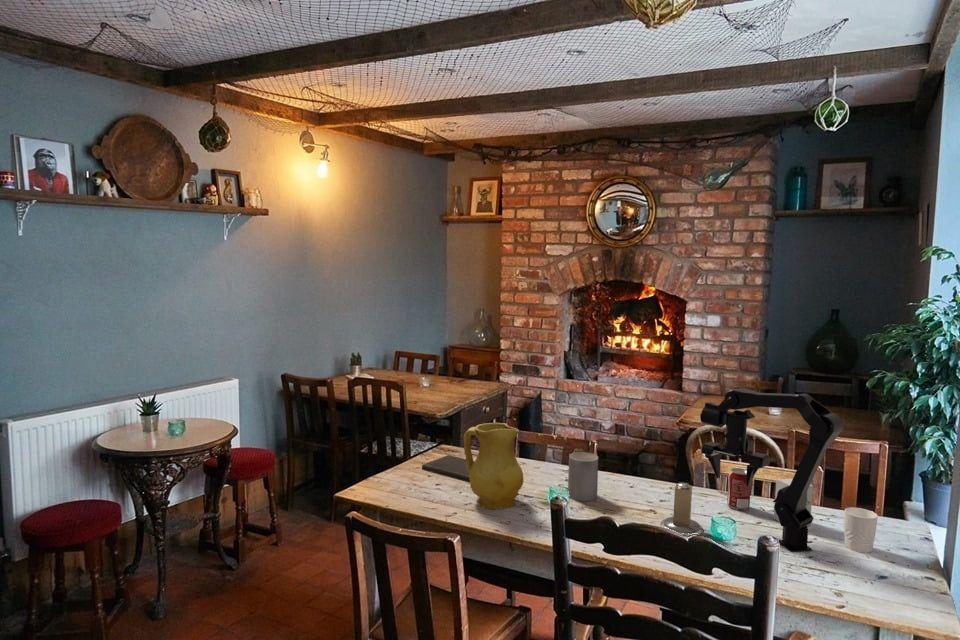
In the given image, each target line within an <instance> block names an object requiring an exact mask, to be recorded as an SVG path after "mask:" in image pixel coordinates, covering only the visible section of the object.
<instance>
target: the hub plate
mask: <svg viewBox="0 0 960 640" xmlns="http://www.w3.org/2000/svg"><path fill="white" fill-rule="evenodd" d="M660 524H661V525H660ZM660 524H659V525H660V527H661V526H662V525H663V527H665V528H668V529H671V530H674V531H676V532H678V533H680V534H682V533H684V534H682V535H685V537H687V536H686V535H688V533H689V534H692V533H698V534H700V535H702V534H703V532H704V528H703V526H702V525H701V524H700V523H699V522H697V521H696V520H693V519H690V526H689V528H688V527H682V526H676V525H673V516H671V517H667V518H665V519H662V520H661V521H660ZM698 534H692V535H696V536H699V535H698ZM682 535H681V536H682Z"/></svg>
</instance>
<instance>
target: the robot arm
mask: <svg viewBox="0 0 960 640" xmlns="http://www.w3.org/2000/svg"><path fill="white" fill-rule="evenodd" d="M756 407H758V408H779V409H795V410H796V411H798V413H799V414H800V415H801V417H802V418H803V420H804V421H805V423H806V424H807V425H809V431H808V444H807V447H806V449H805V451H804V453H803V455H802V457H801V460H800V462H799V464H798V467H797V469H796V471H795V473H794V475H793V477H792V479H793V480H792V482H791V484H790V486H786V487H784V488H782V489H780V490H779V491H778V493H777V497H776V499H775V498H774V499H773V501H772V503H774V504H773V511H774V510H775V512H776V514H777V515H778V518H779V521H780V522H779V521H778V522H779V524H780V525H779V526H781V527H782V537H781V538H782V539H778V540H779V542H780V543H779V545H781V546H783V547H784V548H785V549H787V550H788V551H790V552H811V551H813V548H811V547H810V546H809V545H808V538H809V528H808V526H807V525H809V524H810V525H812V522H813V521H814V519H815V518H814V516H813V515H812V513H811V514H810V512H809V511H808V510H807V508H806V503H807V490H808V488H809V486H810V485H812V482H813V479H814V477H815V475H816V472H817V470H818V468H819V467H820V463H821V462H822V460H823V458H824V456H825V453H826V451H827V449H828V448H829V446H831V444H832V443H833V442H834V441H835V440H836V439H838V437H839V435H840V434H841V432H842V431H843V429H844V427H845V426H844V425H845V423H844V421H843V419H842V418H841V417H840V415H838V414H837V413H833V412H832V411H831V410H830V409H828V407H826V406H825V405H822V404H821V403H820V402H818V401H817V400H815V399H814V398H813V397H812V396H811V395H810V394H808V393H799V394H798V393H797V394H796V393H774V392H773V393H770V392H768V393H767V392H759V391H757V390H753V389H749V388H744V387H741V388H736V389H731V390H728V391H727V392H726V393H725V395H724V399H723V400H722V401H721V402H720V403H719V404H717V403H714V402H712V401H711V402H709V401H708V402H707V401H706V402H705V403H704V407H703V408H702V410H701V413H700V417H699V418H700V422H701V423H702V424H703V425H707V426H712V427H716V428H719V429H720V428H723V427H724V426H725V433H724V434H723V438H724V447H723V445H722V444H721V443H719V442H714V441H708V442H705V443H703V444H702V445H701V446H700V453H701V454H704V457H705V458H707V460H708V462H709V463H710V466H711V467H712V469H713V473H714V476H715V477H716V479H720V476H721V459H722V456H723V455H724V456H729V457H732V458H736V459H741V460H745V461H747V463H748V465H746V470H747V475H746V485H747V487H749V486H750V484H751V485H752V482H753V479H754V477H755V475H756V473H757V472H758V470H759V469H762V468H764V467H767V466H769V465H771V458H770V456H769V455H768V454H766V453H762V452H758V451H757V452H754V453H753V451H754V447H755V441H754V440H751V439H749V434H747V430H748V429H747V427H748V420H751V419H755V418H756V415H754V413H753V412H751V410H750V408H756ZM742 409H746V410H744V411H743V410H742ZM732 410H734V411H732ZM748 452H750V453H751V454H750V453H748Z"/></svg>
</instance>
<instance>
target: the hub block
mask: <svg viewBox="0 0 960 640" xmlns="http://www.w3.org/2000/svg"><path fill="white" fill-rule="evenodd" d="M692 494H693V485H690V484H689V483H687V482H678V483H676V485H675V486H674V495H673V496H674V498H673V499H674V501H673V516H672V517H673V525H676V526H682V527H688V528H689V526H690V519H691V518H692V500H693V499H692V496H693V495H692ZM691 520H692V519H691Z"/></svg>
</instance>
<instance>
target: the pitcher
mask: <svg viewBox="0 0 960 640" xmlns="http://www.w3.org/2000/svg"><path fill="white" fill-rule="evenodd" d="M519 434H520V430H519V429H518V428H516V427H512V426H510V425H508V423H504V422H503V423H501V422H487V423H486V422H485V423H481V424H480V423H479V424H478V425H476V426H471V427H470V428H468V430H466V431H465V432H464V434H463V444H464V445H463V448H464V455H465V459H466V462H467V470H468V472H469V479H470V482H469V485H470V488H471V492H473V494H474V495H475V496H477V497H478V498H477V499H476V504H477V505H478V506H480V507H481V508H485V509H490V510H498V509H499V510H500V509H507V508H509V509H510V508H512V507H515V505H516V504H517V503H516V501H515V498H517V497H518V496H520V494H519V491H520V490H521V488H522V487H523V485H524V473H523V469H522V467H521V465H520V463H519V462H518V460H517V457H516V455H515V448H514V446H515V445H514V444H515V438H516V437H517V436H518V435H519ZM471 436H476V439H477V440H478V442H479V449H478V453H477V456H476V458H475V462H474V457H473V453H472V449H471Z"/></svg>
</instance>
